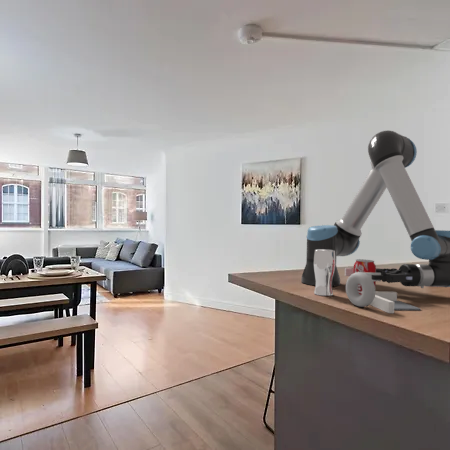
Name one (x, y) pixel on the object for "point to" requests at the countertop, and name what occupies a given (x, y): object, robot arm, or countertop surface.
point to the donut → (366, 284)
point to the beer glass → (324, 271)
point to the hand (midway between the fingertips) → (352, 274)
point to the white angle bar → (390, 302)
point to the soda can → (364, 270)
